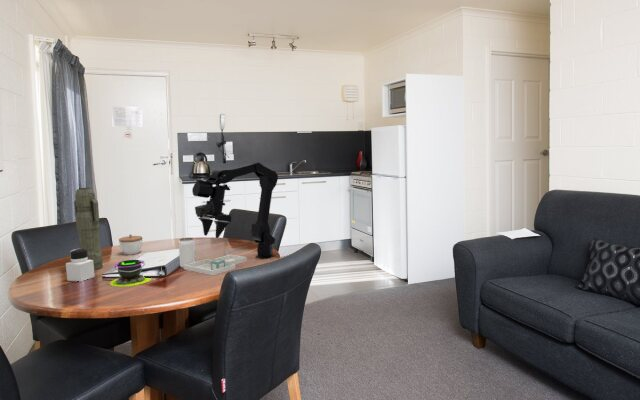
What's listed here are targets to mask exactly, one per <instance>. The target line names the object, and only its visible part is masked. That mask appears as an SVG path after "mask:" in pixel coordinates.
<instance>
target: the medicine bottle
mask: <svg viewBox="0 0 640 400" xmlns="http://www.w3.org/2000/svg"><path fill="white" fill-rule="evenodd" d="M69 255H70V256H69V258H70V261H69V262H65V270H66V278H67V279H66V281H68V282H77V281H79V282H80V283H82V282H85V281H86V280H87V279H88V280H91V279H93V278H95V277H96V275H95V270H94V264H93V260H87V259H88V255H87V250H86V249H80V248H76V249H72V250H70V252H69ZM84 280H85V281H84ZM81 281H82V282H81Z"/></svg>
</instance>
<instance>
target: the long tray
mask: <svg viewBox="0 0 640 400" xmlns="http://www.w3.org/2000/svg"><path fill="white" fill-rule="evenodd" d="M211 261H214V260H213V259H211V258H205V259H204V258H203V259H200V260H197V261H196V262H193V263H189V264H185V265H184V267H183V270H185V271H190V272H195V273H200V274H205V275H209V276H216V275H219V274H222V273H225V272H229V271H232V270H235V269H236V265H237V264H233V263H227V262H225V267H222V268H219V269H215V270H211Z"/></svg>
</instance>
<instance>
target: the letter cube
mask: <svg viewBox="0 0 640 400" xmlns="http://www.w3.org/2000/svg"><path fill="white" fill-rule="evenodd" d="M222 267H225V260H220V259H218V260H214V261H211V270H215V269H219V268H222Z"/></svg>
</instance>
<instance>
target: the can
mask: <svg viewBox="0 0 640 400" xmlns="http://www.w3.org/2000/svg"><path fill="white" fill-rule="evenodd" d="M195 247H196V246H195V240H194V238H193V237H181V238H179V242H178V252H179V253H178V254H179V266H180V268H184V265H185V264H189V263H193V262H197V261H196V248H195Z"/></svg>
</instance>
